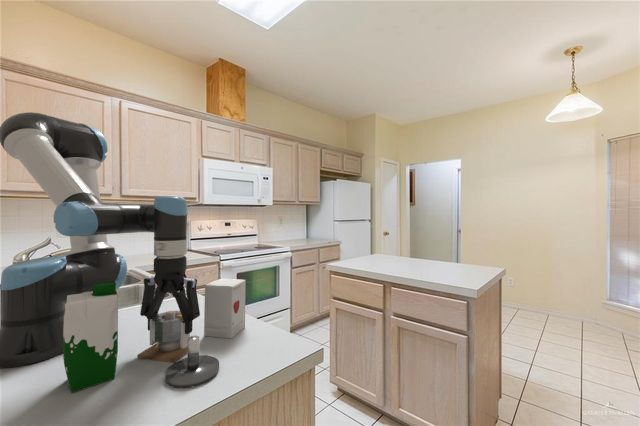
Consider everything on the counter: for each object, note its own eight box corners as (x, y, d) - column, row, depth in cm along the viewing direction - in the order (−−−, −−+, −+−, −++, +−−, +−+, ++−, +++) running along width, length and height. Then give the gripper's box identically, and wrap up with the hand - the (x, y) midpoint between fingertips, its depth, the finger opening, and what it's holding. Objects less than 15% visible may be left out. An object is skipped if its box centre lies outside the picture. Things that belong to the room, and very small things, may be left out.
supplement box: (231, 339, 81) (232, 286, 81) (203, 336, 82) (203, 284, 82) (246, 326, 89) (246, 279, 89) (220, 324, 91) (220, 277, 91)
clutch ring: (144, 341, 70) (144, 319, 70) (166, 328, 78) (167, 308, 78) (173, 343, 69) (173, 321, 69) (193, 330, 77) (193, 310, 77)
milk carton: (120, 378, 61) (121, 285, 61) (64, 397, 55) (65, 294, 55) (113, 363, 67) (114, 278, 67) (61, 378, 61) (62, 285, 61)
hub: (152, 384, 59) (153, 347, 59) (186, 358, 70) (186, 326, 70) (201, 391, 57) (201, 352, 57) (228, 362, 68) (228, 330, 68)
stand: (137, 358, 69) (137, 317, 69) (166, 340, 79) (166, 304, 79) (174, 362, 68) (174, 320, 68) (198, 343, 78) (199, 307, 78)
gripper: (123, 257, 72) (122, 347, 72) (198, 260, 68) (198, 355, 68) (146, 252, 79) (145, 334, 79) (215, 255, 75) (214, 341, 75)
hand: (169, 344), depth 73 cm, fingers closed on clutch ring, 8 cm apart
